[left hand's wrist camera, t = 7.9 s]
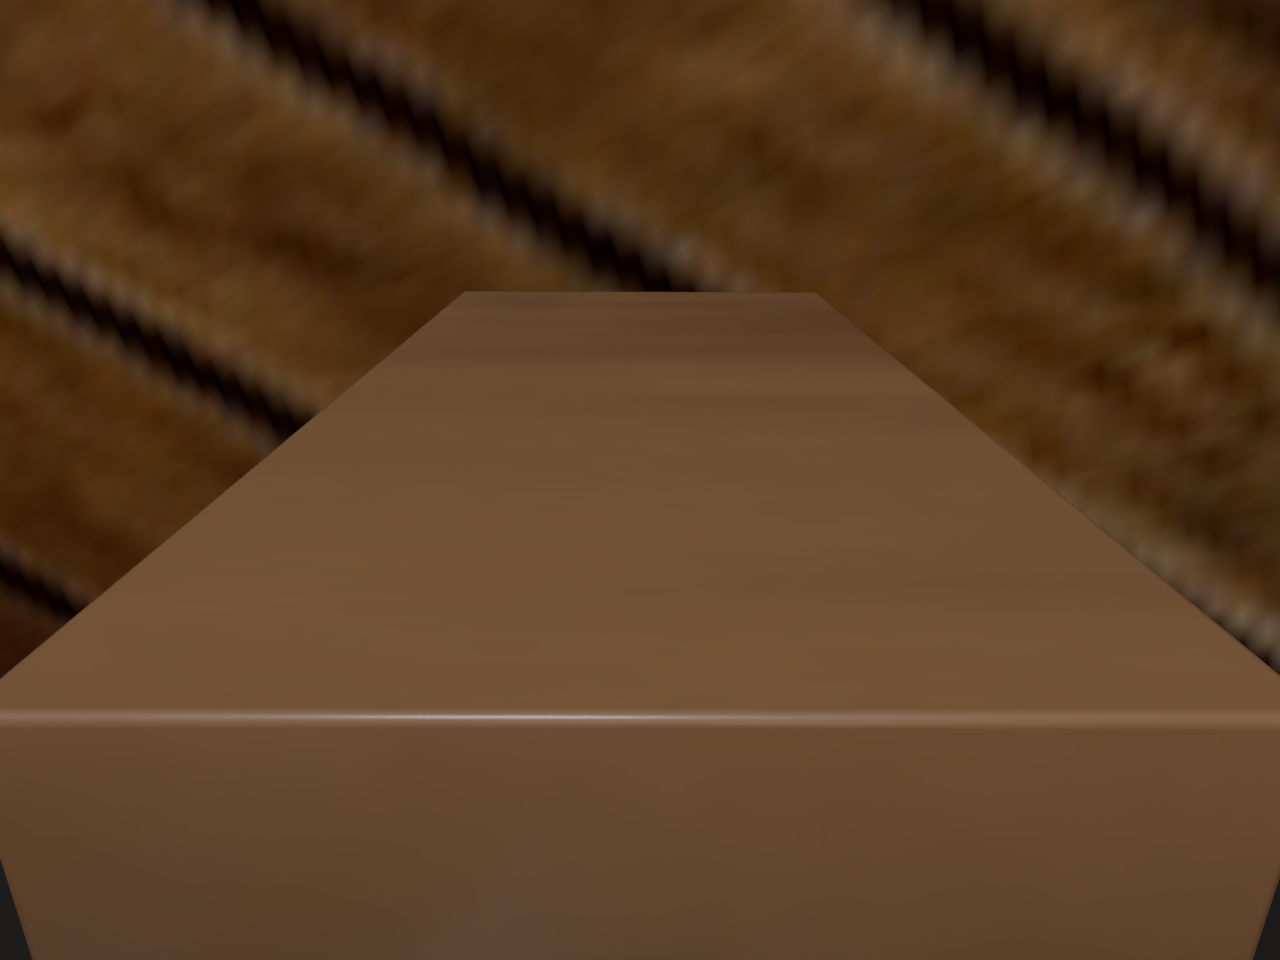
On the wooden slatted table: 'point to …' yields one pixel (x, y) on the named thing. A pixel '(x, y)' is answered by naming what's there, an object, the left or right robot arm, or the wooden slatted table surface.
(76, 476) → the wooden slatted table surface
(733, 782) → the box
